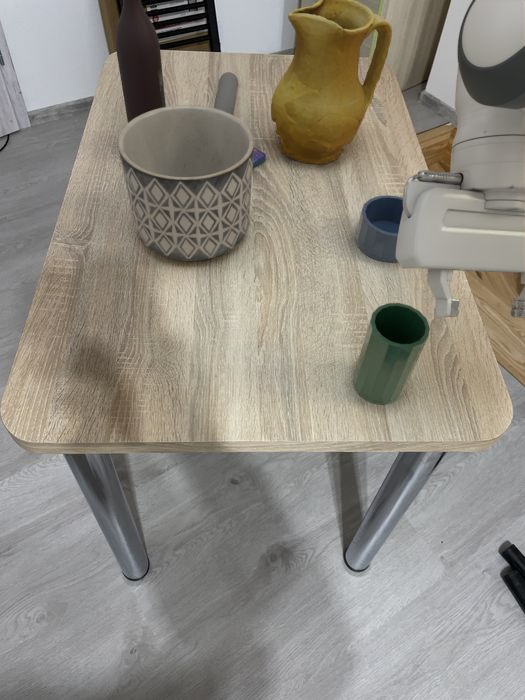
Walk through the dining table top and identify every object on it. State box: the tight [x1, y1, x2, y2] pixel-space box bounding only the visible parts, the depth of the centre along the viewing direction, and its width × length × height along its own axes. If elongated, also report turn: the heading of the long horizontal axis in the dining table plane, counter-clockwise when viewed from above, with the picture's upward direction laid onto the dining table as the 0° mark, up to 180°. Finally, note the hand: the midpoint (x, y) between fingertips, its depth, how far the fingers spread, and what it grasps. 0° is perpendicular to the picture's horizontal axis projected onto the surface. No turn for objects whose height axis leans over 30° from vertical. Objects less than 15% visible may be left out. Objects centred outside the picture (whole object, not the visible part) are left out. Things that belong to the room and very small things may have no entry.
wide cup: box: [355, 194, 403, 263], centre depth 88 cm, size 10×10×6 cm
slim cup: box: [352, 302, 431, 405], centre depth 67 cm, size 7×7×12 cm
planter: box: [117, 104, 255, 262], centre depth 83 cm, size 19×19×16 cm
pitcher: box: [270, 0, 393, 165], centre depth 97 cm, size 17×19×25 cm
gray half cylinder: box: [213, 71, 239, 116], centre depth 115 cm, size 4×20×2 cm, turn 178°
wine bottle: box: [114, 0, 167, 124], centre depth 91 cm, size 7×7×30 cm
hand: (485, 317), depth 55 cm, fingers open, 8 cm apart
